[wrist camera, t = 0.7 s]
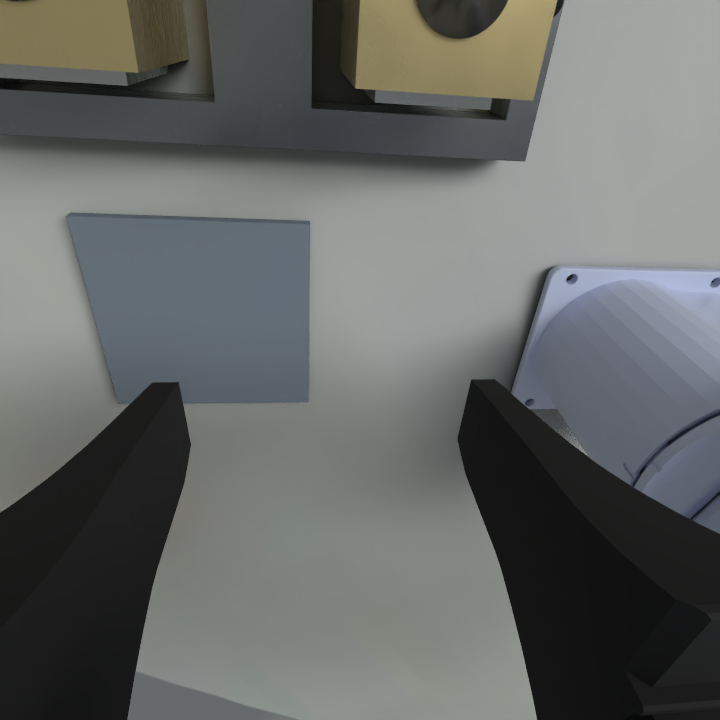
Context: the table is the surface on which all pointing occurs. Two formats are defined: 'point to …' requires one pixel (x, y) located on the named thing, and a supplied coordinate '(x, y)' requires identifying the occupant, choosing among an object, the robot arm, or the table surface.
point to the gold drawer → (445, 50)
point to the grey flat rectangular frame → (269, 101)
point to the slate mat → (199, 304)
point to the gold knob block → (91, 40)
